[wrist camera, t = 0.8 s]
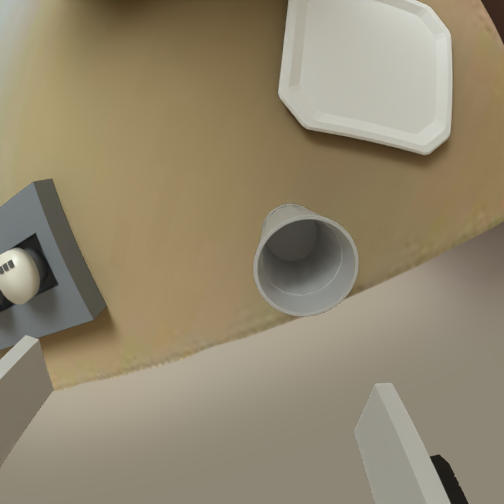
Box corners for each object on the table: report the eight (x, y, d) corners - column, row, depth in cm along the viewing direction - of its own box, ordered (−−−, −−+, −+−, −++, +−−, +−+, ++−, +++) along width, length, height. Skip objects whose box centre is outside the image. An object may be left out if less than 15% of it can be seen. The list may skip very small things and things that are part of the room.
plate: (273, 126, 31) (274, 124, 29) (290, -25, 26) (292, -34, 24) (439, 161, 32) (449, 162, 30) (442, 19, 26) (450, 14, 24)
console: (-50, 259, 36) (-63, 266, 32) (51, 178, 33) (33, 181, 29) (-9, 345, 41) (-21, 355, 37) (106, 305, 37) (93, 319, 34)
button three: (11, 251, 32) (-13, 263, 27) (38, 234, 31) (14, 245, 27) (30, 294, 34) (9, 310, 29) (59, 281, 33) (37, 297, 28)
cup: (303, 277, 36) (324, 331, 24) (241, 247, 35) (234, 290, 23) (338, 217, 34) (377, 246, 22) (275, 182, 33) (286, 195, 21)
